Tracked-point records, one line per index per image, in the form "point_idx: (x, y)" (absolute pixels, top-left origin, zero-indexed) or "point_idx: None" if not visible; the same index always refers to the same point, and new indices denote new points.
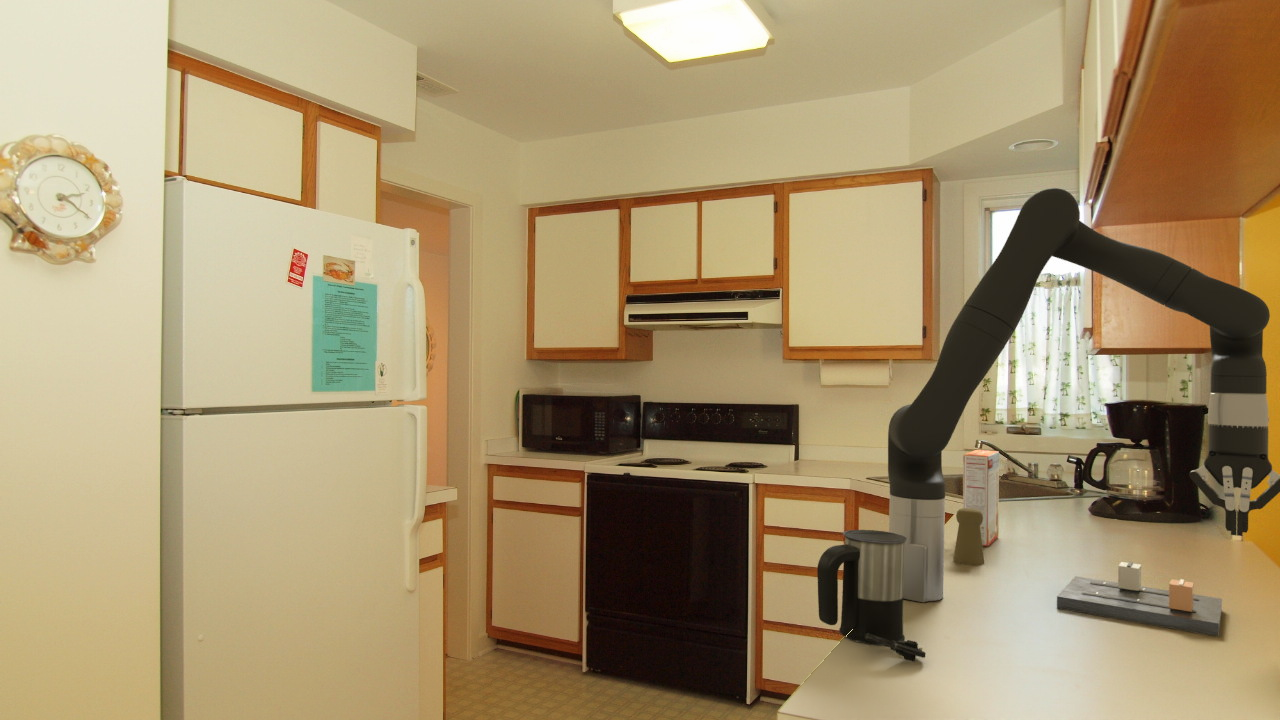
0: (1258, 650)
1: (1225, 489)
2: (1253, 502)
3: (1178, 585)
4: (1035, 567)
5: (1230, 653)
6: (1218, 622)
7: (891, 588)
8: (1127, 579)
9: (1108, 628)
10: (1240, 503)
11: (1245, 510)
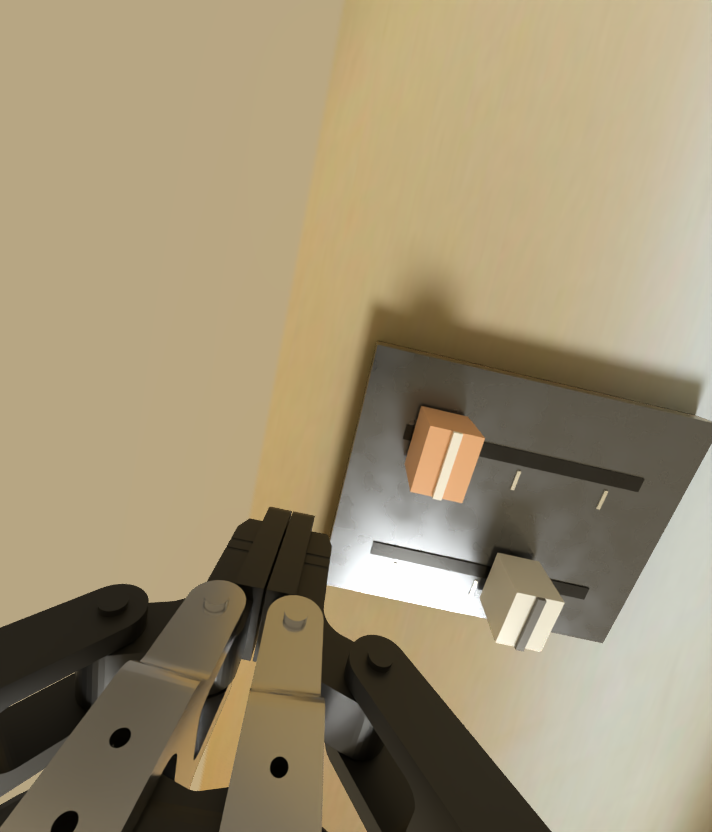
0: (316, 265)
1: (311, 743)
2: (135, 644)
3: (462, 433)
4: (629, 745)
5: (383, 200)
6: (376, 353)
7: None
8: (529, 573)
9: (619, 284)
10: (226, 631)
11: (213, 587)
